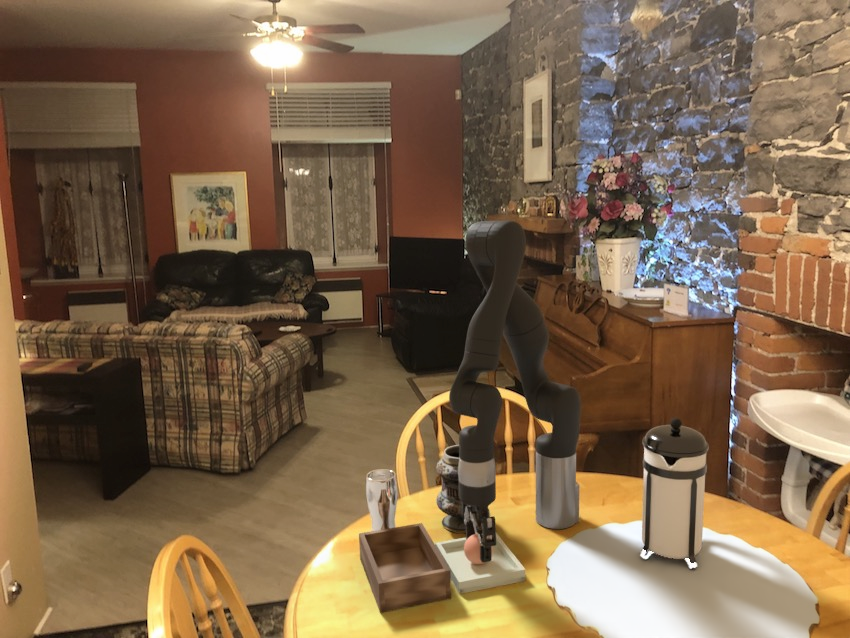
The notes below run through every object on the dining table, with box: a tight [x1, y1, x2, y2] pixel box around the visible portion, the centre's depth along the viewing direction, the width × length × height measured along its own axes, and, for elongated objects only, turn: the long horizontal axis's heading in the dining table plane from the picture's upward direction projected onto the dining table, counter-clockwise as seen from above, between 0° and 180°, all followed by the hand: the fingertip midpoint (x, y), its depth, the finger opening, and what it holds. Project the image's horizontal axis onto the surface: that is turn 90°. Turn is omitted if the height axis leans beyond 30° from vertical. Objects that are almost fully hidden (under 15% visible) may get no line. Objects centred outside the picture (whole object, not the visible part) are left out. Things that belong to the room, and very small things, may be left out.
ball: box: [464, 534, 493, 564], centre depth 144 cm, size 6×6×6 cm
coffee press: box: [641, 417, 710, 563], centre depth 146 cm, size 17×16×30 cm
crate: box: [358, 522, 452, 614], centre depth 141 cm, size 14×20×6 cm
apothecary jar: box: [435, 444, 482, 534], centre depth 162 cm, size 12×12×18 cm
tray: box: [434, 532, 526, 594], centre depth 144 cm, size 14×16×2 cm
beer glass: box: [365, 468, 398, 532], centre depth 157 cm, size 7×7×15 cm
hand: (478, 550), depth 144 cm, fingers open, 8 cm apart
